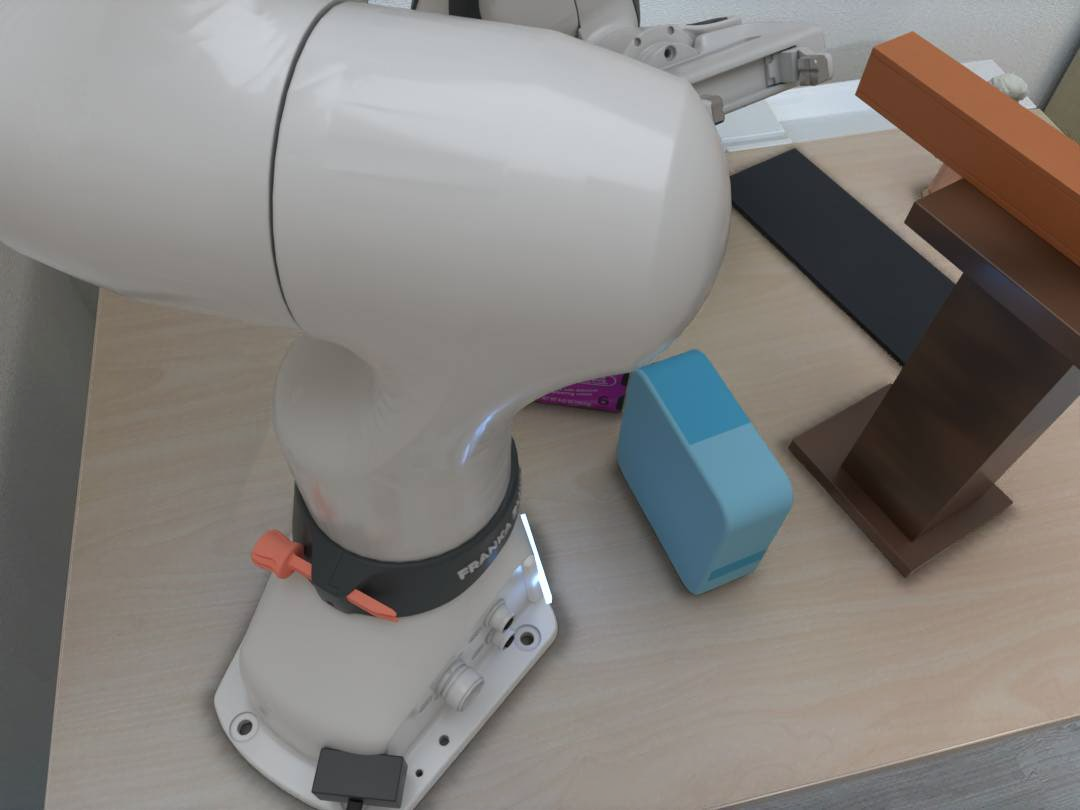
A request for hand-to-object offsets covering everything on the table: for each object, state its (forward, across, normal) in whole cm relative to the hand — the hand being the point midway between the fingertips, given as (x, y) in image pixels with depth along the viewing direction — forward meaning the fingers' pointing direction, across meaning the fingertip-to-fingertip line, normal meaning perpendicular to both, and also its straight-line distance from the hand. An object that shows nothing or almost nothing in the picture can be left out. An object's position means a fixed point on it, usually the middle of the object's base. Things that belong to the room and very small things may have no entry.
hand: (772, 90), depth 55 cm
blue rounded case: (+3, -15, +25) cm, 29 cm away
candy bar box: (-9, -16, +18) cm, 26 cm away
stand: (+8, 0, +28) cm, 29 cm away
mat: (-8, +13, +18) cm, 24 cm away
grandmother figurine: (-8, +27, +18) cm, 33 cm away
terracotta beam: (+17, 0, +5) cm, 18 cm away
